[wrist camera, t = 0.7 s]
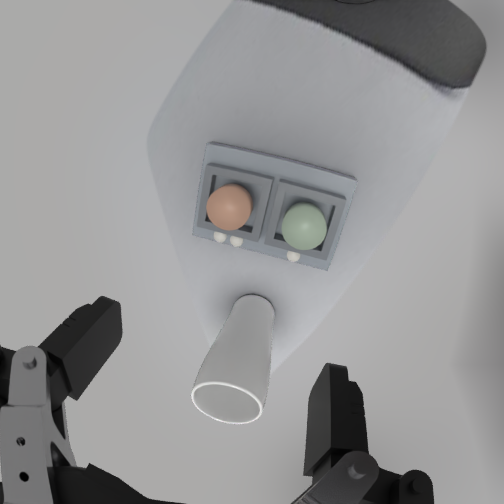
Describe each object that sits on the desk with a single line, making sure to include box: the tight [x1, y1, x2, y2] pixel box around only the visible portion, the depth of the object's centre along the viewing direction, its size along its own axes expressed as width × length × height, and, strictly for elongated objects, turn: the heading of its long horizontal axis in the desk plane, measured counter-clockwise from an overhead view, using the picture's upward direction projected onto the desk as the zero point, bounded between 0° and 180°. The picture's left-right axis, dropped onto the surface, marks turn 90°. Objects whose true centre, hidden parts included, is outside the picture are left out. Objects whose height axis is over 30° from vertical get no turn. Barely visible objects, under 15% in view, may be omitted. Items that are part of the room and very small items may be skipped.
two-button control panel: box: [192, 142, 358, 271], centre depth 29 cm, size 10×15×4 cm, turn 78°
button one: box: [282, 202, 327, 250], centre depth 27 cm, size 4×4×2 cm
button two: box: [206, 184, 253, 230], centre depth 27 cm, size 4×4×2 cm
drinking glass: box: [191, 295, 275, 424], centre depth 30 cm, size 7×7×15 cm
